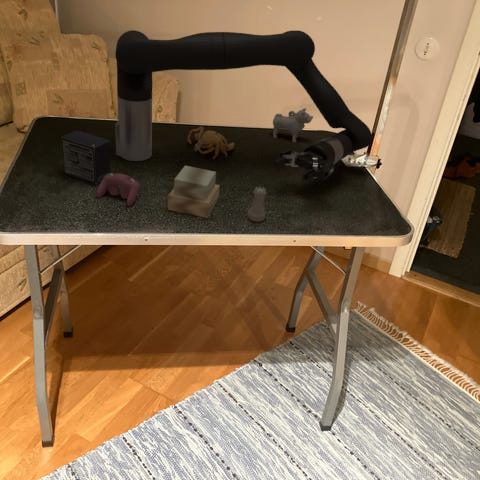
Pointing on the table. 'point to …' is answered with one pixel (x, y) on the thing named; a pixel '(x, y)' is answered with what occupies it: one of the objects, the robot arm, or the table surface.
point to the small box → (86, 157)
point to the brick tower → (194, 192)
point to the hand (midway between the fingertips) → (289, 171)
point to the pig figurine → (291, 122)
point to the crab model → (209, 141)
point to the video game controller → (112, 184)
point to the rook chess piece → (257, 205)
